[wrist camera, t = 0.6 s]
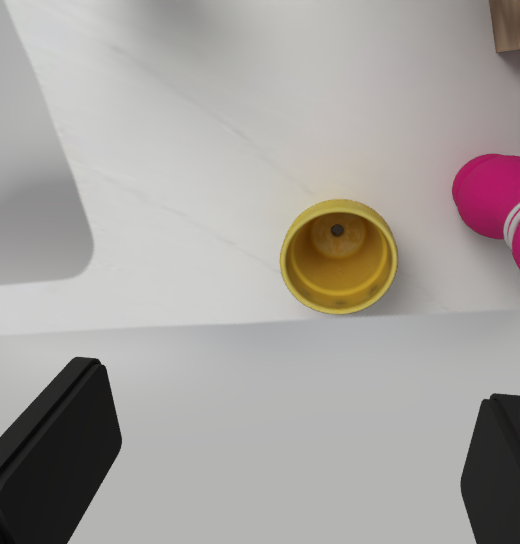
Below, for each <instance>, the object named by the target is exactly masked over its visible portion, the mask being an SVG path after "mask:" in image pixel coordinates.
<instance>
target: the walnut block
mask: <svg viewBox="0 0 520 544" xmlns="http://www.w3.org/2000/svg"><path fill="white" fill-rule="evenodd" d="M489 3H490V11H491V18H492V25H493V33H494V40H495V47H496V53H497V52H504V51H511V50H518V49H520V0H489Z"/></svg>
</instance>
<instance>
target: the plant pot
mask: <svg viewBox="0 0 520 544" xmlns="http://www.w3.org/2000/svg"><path fill="white" fill-rule="evenodd" d="M337 224H339V225H341V226H342V227H343V232H342V233H341V234H339V235H335V234H333V233H332V227H333V226H334V225H337ZM397 267H398V251H397V246H396V242H395V240H394V237H393V235H392V232H391V230H390V228H389V227H388V225H387V223H386V222H385V220H384V219H383V218H382V217H381V216H380V215H379V214H378V213H377V212H376V211H374V210H373V209H372V208H370V207H368V206H366V205H364V204H362V203H360V202H356V201H352V200H346V199H334V200H328V201H324V202H320V203H318V204H315V205H313V206H311V207H310V208H308V209H307V210H305V211H304V212H303V213H301V214H300V215H299V216H298V217H297V218H296V220H295V221H294V222H293V224H292V225H291V227H290V228H289V230H288V232H287V234H286V237H285V239H284V242H283V245H282V249H281V254H280V269H281V274H282V277H283V280H284V282H285V284H286V286H287V288H288V289H289V291H290V292H291V293H292V294H293V296H294V297H295V298H296V299H297V300H299V301H300V302H301V303H303V304H304V305H305V306H307V307H309V308H311V309H313V310H316V311H319V312H322V313H327V314H349V313H354V312H357V311H360V310H363V309H365V308H367V307H369V306H371V305H372V304H374V303H375V302H377V301H378V300H379V299H380V298H381V297H382V296H383V295H384V294H385V293H386V292H387V290H388V289H389V287H390V286H391V284H392V282H393V280H394V278H395V275H396V272H397Z"/></svg>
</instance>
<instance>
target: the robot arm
mask: <svg viewBox="0 0 520 544" xmlns="http://www.w3.org/2000/svg"><path fill="white" fill-rule="evenodd" d="M121 444H122V437H121V432H120V428H119V423H118V419H117V415H116V410H115V406H114V401H113V396H112V392H111V388H110V383H109V379H108V375H107V370H106V367H105V366H104V365H101V362H100V361H99V360H98V359H96V358H84V357H75V358H74V359H72V360H71V361H70V362H69V363H68V364H67V365H66V367H64V369H63V370H62V371H61V372H60V373H59V374H58V375H57V376H56V377H55V378H54V379H53V381H52V382H51V383H50V384H49V385H48V386H47V387H46V388H45V389H44V390H43V391H42V392H41V393H40V395H39V396H38V397H37V398H36V399H35V400H34V401H33V402H32V403H31V404H30V405H29V406H28V408H27V409H26V410H25V411H24V412H23V413H22V414H21V415H20V416H19V417H18V418H17V420H16V421H15V422H14V423H13V424H12V425H11V426H10V427H9V428H8V429H7V430H6V431H5V432H4V434H3V435H2V436H1V437H0V544H67V543H68V541H69V540H70V538H71V536H72V534H73V533H74V531H75V529H76V527H77V526H78V524H79V522H80V520H81V519H82V517H83V515H84V513H85V511H86V510H87V508H88V506H89V504H90V503H91V501H92V499H93V497H94V496H95V494H96V492H97V490H98V489H99V487H100V485H101V483H102V482H103V480H104V478H105V476H106V475H107V473H108V471H109V469H110V468H111V466H112V464H113V462H114V461H115V459H116V457H117V455H118V453H119V451H120V449H121ZM461 493H462V497H463V501H464V504H465V507H466V510H467V514H468V517H469V520H470V523H471V527H472V530H473V533H474V536H475V539H476V543H477V544H520V396H518V395H507V394H496V393H495V394H492V395H491V396H490V399H484V400H483V401H482V403H481V406H480V410H479V413H478V417H477V421H476V425H475V428H474V432H473V436H472V439H471V443H470V447H469V451H468V454H467V458H466V462H465V465H464V469H463V473H462V477H461Z"/></svg>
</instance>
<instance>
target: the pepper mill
mask: <svg viewBox="0 0 520 544" xmlns="http://www.w3.org/2000/svg"><path fill="white" fill-rule="evenodd" d="M452 195H453V199H454V201H455V203H456V205H457V207H458V211H459V214H460V216H461V218H462V220H463V221H464V222H465V224H466V225H468V226H469V227H470V228H471V229H472V230H474V231H475V232H477V233H479V234H480V235H483V236H486V237H490V238H494V239H505V242H506V244H507V246H508V247H509V248H510V249H511V250H512V255H513V257H514V259H515V262H516V264H517V266H518V267H519V269H520V157H519V156H504V155H500V154H486V155H482V156H479V157H476V158H475V159H473V160H471V161H469V162H468V163H467V164H465V165H464V166H463V167H462V168H461V170H460V171H459V172H458V174H457V175H456V177H455V180H454V182H453V187H452Z"/></svg>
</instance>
